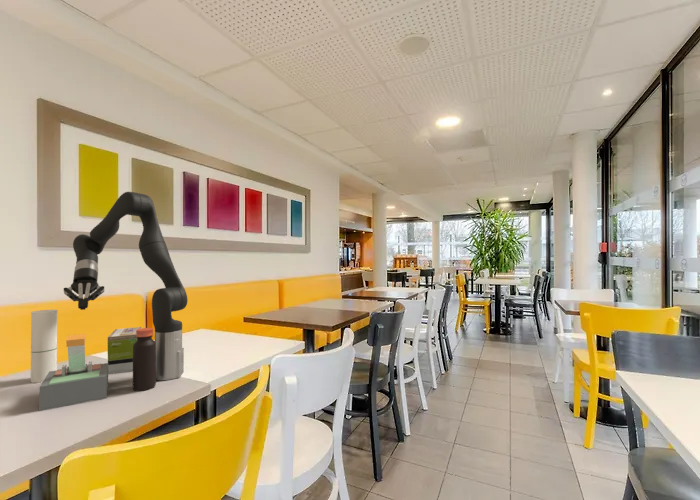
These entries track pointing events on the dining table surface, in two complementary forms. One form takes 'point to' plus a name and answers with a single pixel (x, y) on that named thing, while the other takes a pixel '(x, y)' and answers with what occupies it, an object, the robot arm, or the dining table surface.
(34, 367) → the cylindrical container
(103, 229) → the robot arm
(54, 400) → the switch box
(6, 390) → the dining table surface
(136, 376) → the bottle
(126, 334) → the tea box
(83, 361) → the lever
